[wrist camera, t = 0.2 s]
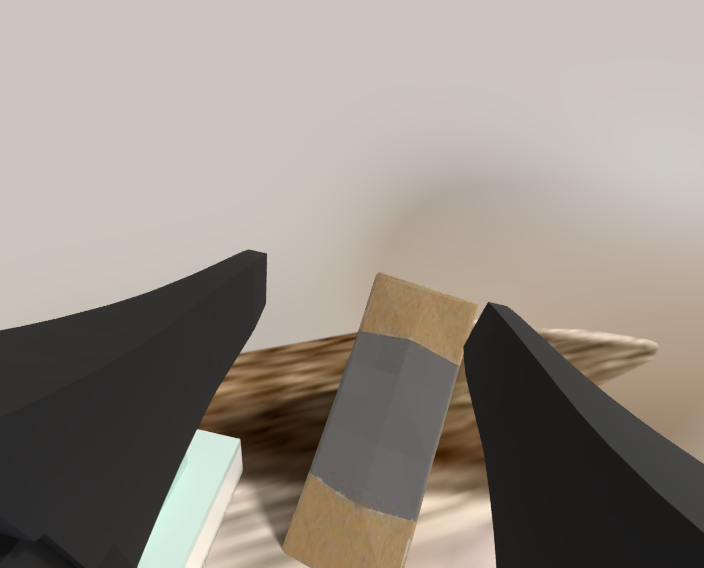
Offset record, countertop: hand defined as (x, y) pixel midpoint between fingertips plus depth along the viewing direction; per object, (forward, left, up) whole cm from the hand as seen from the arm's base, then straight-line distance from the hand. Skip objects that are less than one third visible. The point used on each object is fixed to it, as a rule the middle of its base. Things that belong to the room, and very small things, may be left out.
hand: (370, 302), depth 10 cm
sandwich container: (+6, -3, -22) cm, 23 cm away
